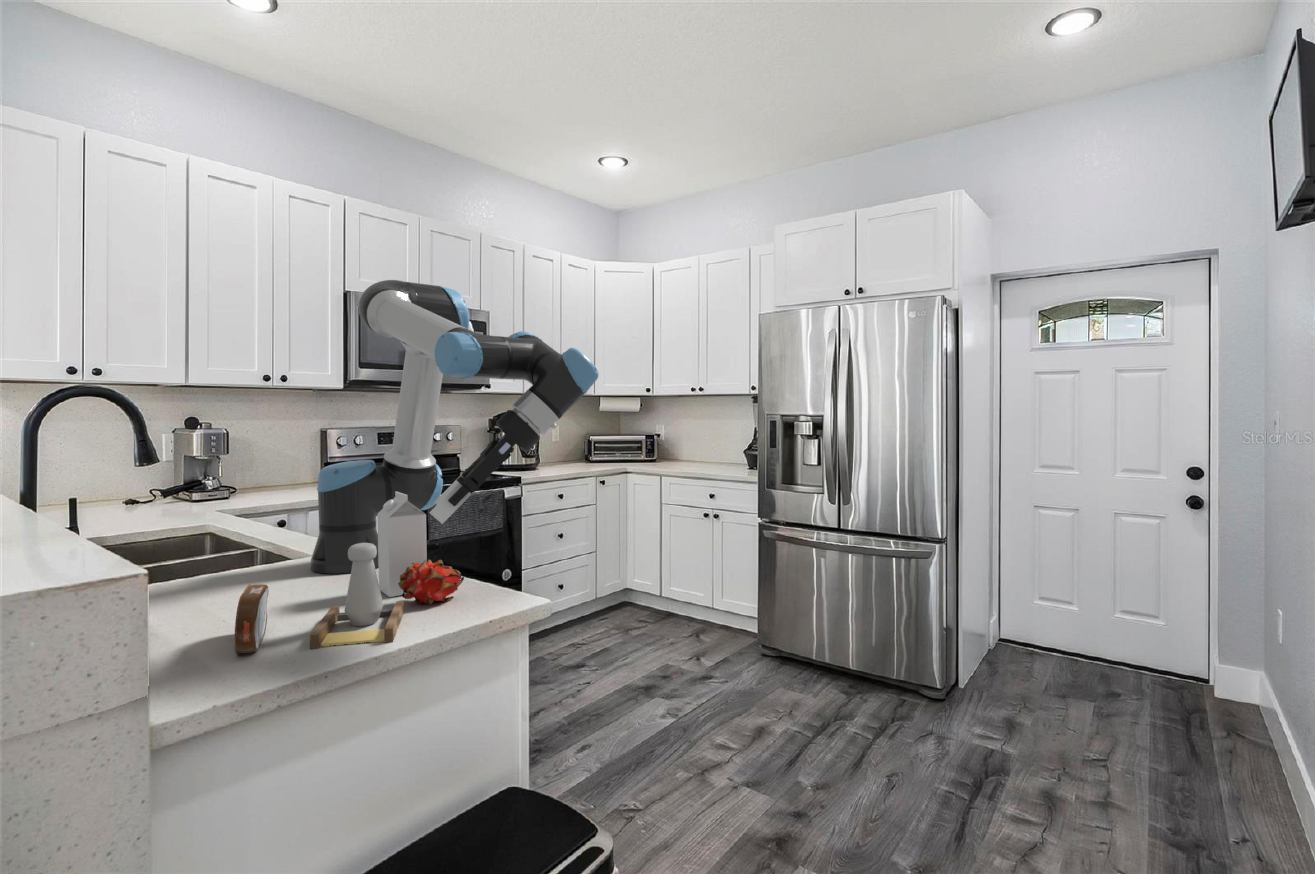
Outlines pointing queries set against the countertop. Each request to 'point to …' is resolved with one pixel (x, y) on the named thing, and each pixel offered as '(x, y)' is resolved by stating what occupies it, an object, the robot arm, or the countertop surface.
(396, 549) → the milk carton
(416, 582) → the dragon fruit
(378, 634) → the yellow panel
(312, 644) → the channel
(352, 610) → the salt shaker
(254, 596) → the tin
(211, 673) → the countertop surface
